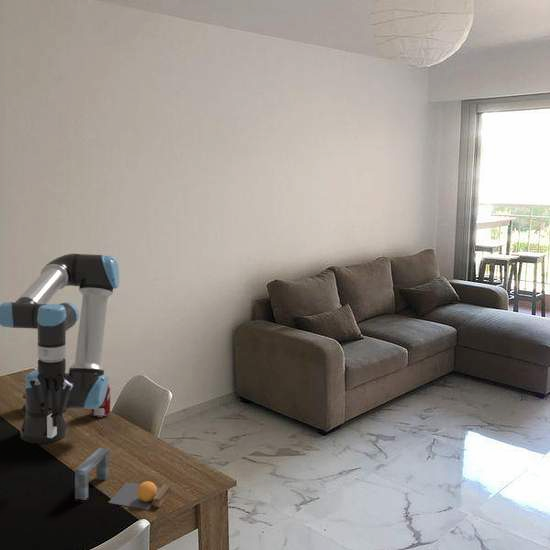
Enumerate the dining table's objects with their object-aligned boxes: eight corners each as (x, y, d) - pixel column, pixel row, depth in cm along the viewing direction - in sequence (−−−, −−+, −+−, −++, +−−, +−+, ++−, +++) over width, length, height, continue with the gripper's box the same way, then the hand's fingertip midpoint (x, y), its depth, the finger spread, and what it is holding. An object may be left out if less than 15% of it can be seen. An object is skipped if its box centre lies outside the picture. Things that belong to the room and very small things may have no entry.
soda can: (104, 419, 230) (105, 388, 228) (88, 416, 231) (88, 386, 229) (113, 412, 236) (113, 382, 234) (96, 410, 238) (97, 380, 236)
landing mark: (108, 503, 174) (108, 502, 174) (126, 482, 185) (126, 482, 185) (148, 510, 172) (148, 509, 171) (164, 488, 183) (164, 488, 183)
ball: (139, 508, 174) (130, 491, 174) (147, 498, 179) (138, 481, 179) (156, 501, 173) (147, 484, 172) (163, 491, 178) (154, 475, 178)
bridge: (75, 499, 174) (75, 469, 173) (99, 476, 188) (99, 447, 187) (84, 501, 174) (85, 471, 172) (108, 477, 188) (109, 449, 186)
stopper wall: (152, 506, 173) (153, 498, 173) (163, 492, 181) (163, 484, 181) (159, 507, 173) (159, 499, 173) (170, 493, 181) (170, 485, 180)
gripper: (23, 359, 175) (24, 438, 179) (65, 365, 172) (65, 444, 176) (38, 352, 182) (39, 427, 186) (79, 357, 180) (78, 433, 184)
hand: (52, 435), depth 181 cm, fingers closed
